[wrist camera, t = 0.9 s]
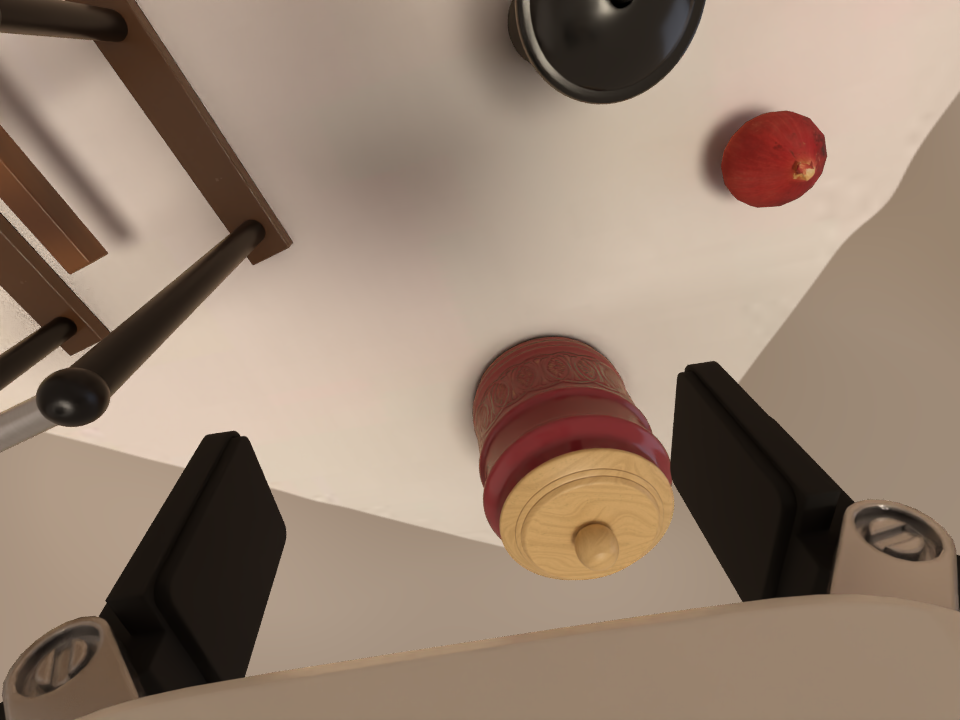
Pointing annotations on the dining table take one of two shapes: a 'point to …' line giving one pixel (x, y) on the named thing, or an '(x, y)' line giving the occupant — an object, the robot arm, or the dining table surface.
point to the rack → (253, 234)
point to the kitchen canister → (568, 462)
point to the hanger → (44, 209)
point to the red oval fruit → (773, 159)
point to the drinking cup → (603, 43)
